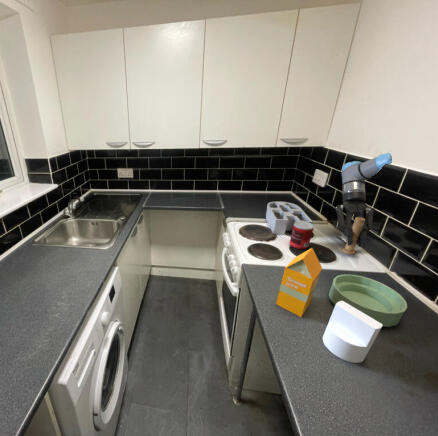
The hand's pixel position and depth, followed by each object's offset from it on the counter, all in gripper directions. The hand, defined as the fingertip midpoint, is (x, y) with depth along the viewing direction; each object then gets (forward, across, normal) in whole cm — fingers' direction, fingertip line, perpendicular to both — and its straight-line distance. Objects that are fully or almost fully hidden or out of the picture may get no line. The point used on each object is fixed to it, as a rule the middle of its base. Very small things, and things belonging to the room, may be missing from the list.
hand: (355, 244), depth 94 cm
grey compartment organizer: (-15, +22, -26) cm, 37 cm away
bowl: (+26, +6, +16) cm, 31 cm away
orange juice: (+31, +26, +20) cm, 45 cm away
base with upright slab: (+40, +16, +29) cm, 52 cm away
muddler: (+1, 0, -7) cm, 7 cm away
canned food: (+1, +18, -9) cm, 20 cm away
